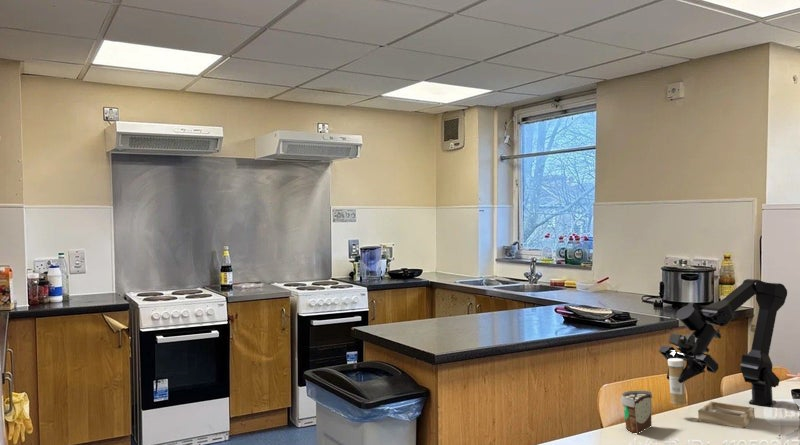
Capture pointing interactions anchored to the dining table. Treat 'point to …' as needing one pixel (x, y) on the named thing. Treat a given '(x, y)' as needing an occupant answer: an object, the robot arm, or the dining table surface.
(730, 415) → the box
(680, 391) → the sprinkles bottle
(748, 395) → the dining table surface
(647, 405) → the food container
